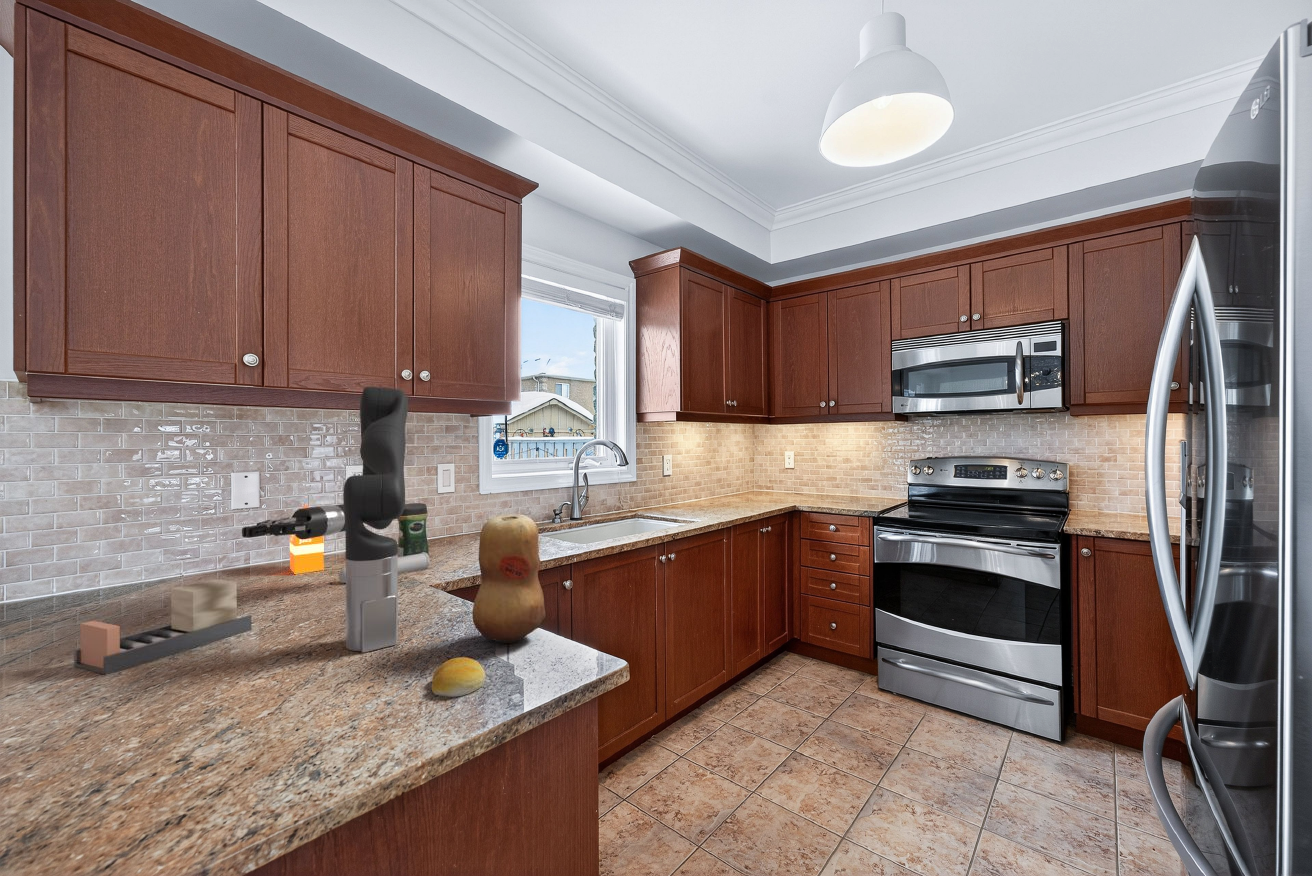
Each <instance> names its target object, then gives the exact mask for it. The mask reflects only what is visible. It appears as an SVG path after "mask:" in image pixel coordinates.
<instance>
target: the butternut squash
mask: <svg viewBox="0 0 1312 876" xmlns="http://www.w3.org/2000/svg"><path fill="white" fill-rule="evenodd" d="M539 548H540V547H539V528H538V525H537V524H536V522H534V520H533V519H532V518H531V517H529V516H527V515H525V514H519V513H517V514H516V513H515V514H510V513H509V514H507V513H506V514H502V515H498V516H495V517H492V518H489V520H487V521H486V522H485V523H484V525H482V527H481V530H480V535H479V544H478V565H479V570H480V586H479V588H478V591H477V594H476V596H475V598H474V602H473V606H472V623H473V625H474V627H475V629H476V630H477V632H479V634H480V635H481V636H482V637H483V638H486V639H489V640H493V641H496V642H499V643H501V644H512V643H517V642H520V641H521V640H522V639H524V638H525V637H527V636H528V635H529V634H531V633H532V632H534V631H536V630H537V629H539V628H540V625H541V623H542V622H543V620H544V619H545V618H546V611H545V600H544V599H545V598H544V597H545V596H544V592H543V589H542V586H541V584H540V580H539V576H538V574H539V571H540V570H541V565H542V562H541V559H540V555H539V554H540V553H539V552H540V549H539Z"/></svg>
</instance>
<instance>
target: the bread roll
mask: <svg viewBox="0 0 1312 876" xmlns="http://www.w3.org/2000/svg"><path fill="white" fill-rule="evenodd" d="M486 677H487V676H486V672H485V670H484V667H482V665H481V664H480V663H479V662H478V661H477V660H475V659H473V658H469V657H465V656H464V657H462V656H461V657H454V658H451V659H449V660H446V661H445V662H444V663H441V665H440V666H438V668H436V670H435V671H434V673H433V674H432V679H431V681H432V683H431V684H432V685H431V691H432V693H433V694H434V695H435V696H440V697H447V698H456V697H462V696H467V695H469V694H471V693H473V692H476V691H477V690H479V689H480V688H482V687H483V685H484V684H485V683H486V682H485V681H486Z"/></svg>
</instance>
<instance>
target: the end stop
mask: <svg viewBox="0 0 1312 876" xmlns="http://www.w3.org/2000/svg"><path fill="white" fill-rule="evenodd" d="M120 629H121V627H120V625H116V624H111V623H106V622H101V621H97V620H90V621H86V622H82V623H80V648H81V663H84V664H88V665H92V666H95V667H99V668H103V657H105V656H108V655H112V654H115V653H119V652H120V637H121V635H120V632H121V631H120Z"/></svg>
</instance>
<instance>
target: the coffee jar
mask: <svg viewBox="0 0 1312 876" xmlns="http://www.w3.org/2000/svg"><path fill="white" fill-rule="evenodd" d="M428 515H429V513H428V508H427V504H426V503H422V502H412V503H405V507H404V510H403V513H402V515H401V516H400V517H399V518H397V519H396V520H397V522H398V538H397V539H398V540H397V544H398V557H404V556H409V555H415V554H421V553H422V552H425V553H427V554H428V556H429V555H430V554H429V553H430V552H429V543H428V536H427V535H428V534H427V519H428Z"/></svg>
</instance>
